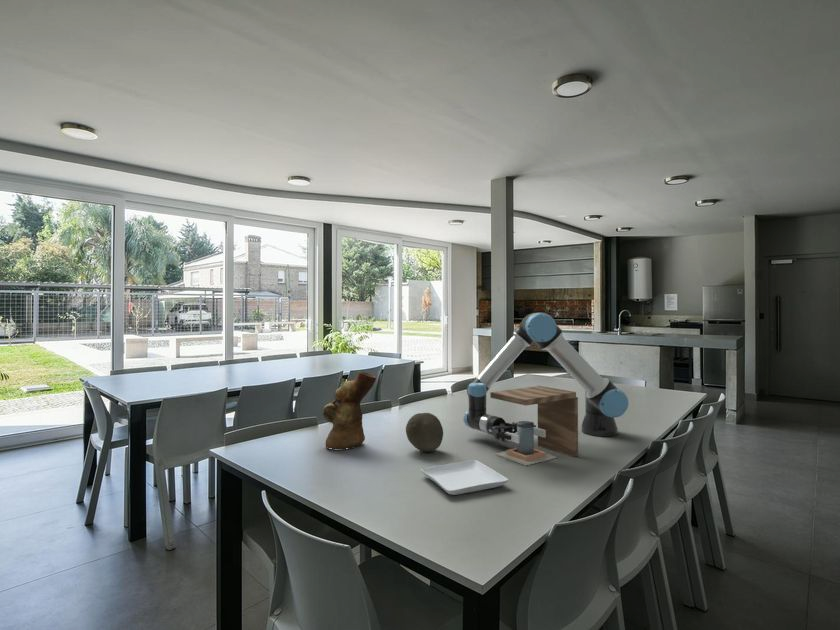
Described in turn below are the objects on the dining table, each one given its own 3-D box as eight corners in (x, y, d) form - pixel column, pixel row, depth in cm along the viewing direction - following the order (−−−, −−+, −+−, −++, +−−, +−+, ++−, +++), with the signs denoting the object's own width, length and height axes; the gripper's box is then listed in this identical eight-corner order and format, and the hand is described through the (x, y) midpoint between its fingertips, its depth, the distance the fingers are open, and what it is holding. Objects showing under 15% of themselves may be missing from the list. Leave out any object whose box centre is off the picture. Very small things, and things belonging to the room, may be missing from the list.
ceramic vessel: (324, 440, 198) (324, 369, 198) (376, 438, 200) (376, 368, 200) (321, 451, 182) (320, 374, 182) (377, 449, 185) (376, 373, 185)
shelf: (541, 444, 189) (540, 385, 189) (578, 456, 174) (577, 391, 174) (490, 456, 175) (490, 392, 175) (526, 470, 160) (525, 399, 159)
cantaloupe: (435, 445, 190) (435, 408, 190) (448, 455, 177) (448, 415, 177) (402, 448, 186) (401, 410, 186) (412, 459, 172) (412, 418, 172)
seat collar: (525, 447, 186) (525, 442, 186) (557, 457, 173) (557, 452, 173) (495, 454, 177) (495, 449, 177) (526, 466, 164) (526, 460, 164)
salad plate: (448, 501, 135) (448, 489, 135) (419, 477, 154) (419, 467, 154) (510, 490, 143) (510, 478, 143) (475, 468, 162) (475, 459, 162)
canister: (525, 451, 179) (525, 420, 179) (537, 455, 174) (537, 423, 174) (513, 454, 176) (513, 422, 176) (525, 458, 171) (525, 425, 170)
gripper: (515, 429, 197) (555, 441, 179) (469, 439, 183) (507, 452, 165) (515, 412, 197) (555, 421, 179) (468, 420, 183) (507, 431, 165)
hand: (532, 436), depth 172 cm, fingers open, 13 cm apart
